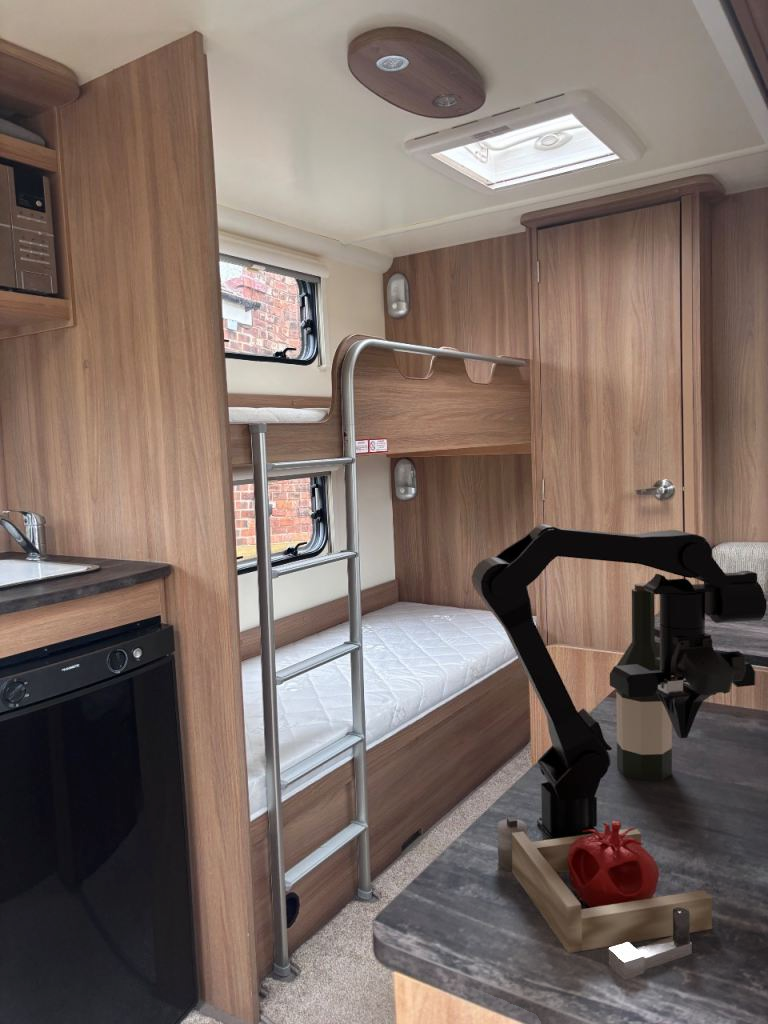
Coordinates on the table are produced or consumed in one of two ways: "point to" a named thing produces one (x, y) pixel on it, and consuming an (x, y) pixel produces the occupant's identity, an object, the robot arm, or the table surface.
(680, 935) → the crank handle
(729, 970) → the table surface
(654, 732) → the wine bottle
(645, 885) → the pomegranate
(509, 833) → the frame
